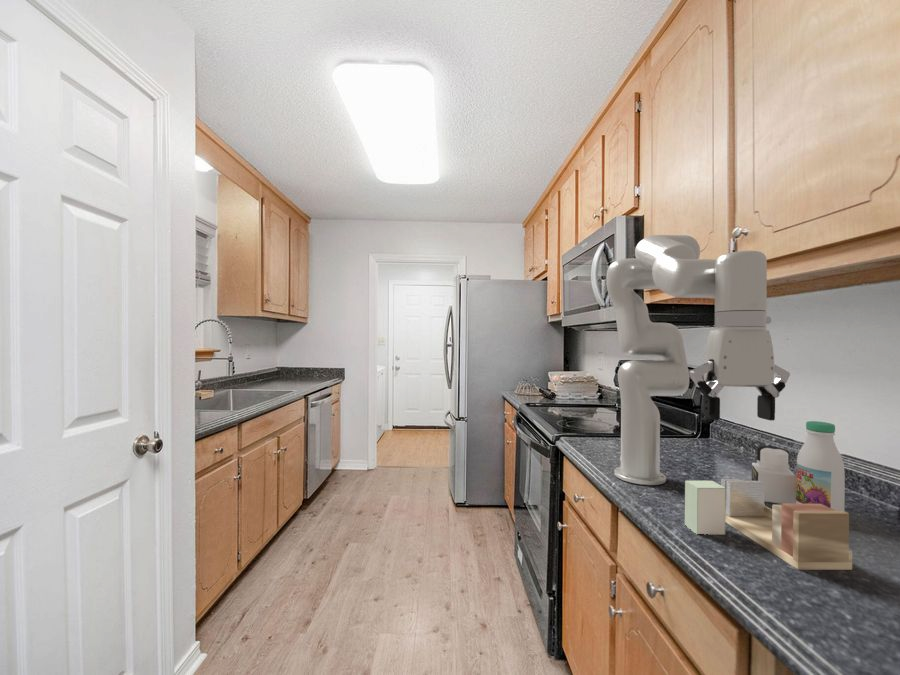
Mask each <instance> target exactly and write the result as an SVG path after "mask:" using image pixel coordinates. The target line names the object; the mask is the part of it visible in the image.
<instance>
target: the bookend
mask: <svg viewBox="0 0 900 675" xmlns="http://www.w3.org/2000/svg"><path fill="white" fill-rule="evenodd" d="M720 482H721V483H720V485H721V486H723V487H725V488H726V509H725V512H726V515H728V516H735V517H764V505H765V482H763V481H752V480H742V479H740V478H721V479H720ZM765 506H766V505H765Z"/></svg>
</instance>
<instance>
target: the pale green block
mask: <svg viewBox="0 0 900 675" xmlns="http://www.w3.org/2000/svg"><path fill="white" fill-rule="evenodd" d="M725 509H726V488H725V487H723V486H721V484H719V483H717V482H716V481H714V480H684V526H685V525H686V526H687V527H686V526H685V527H686V528H687V529H689V530H690V529H691V530H690V531H692V533H694V534H695V533H696V534H695V535H697V534H704V535H703V536H705V535H706V534H708V535H709V536H712V535H716V536H718V535H720V536H721V535H722V536H724V535H726V522H725ZM708 535H706V536H708Z"/></svg>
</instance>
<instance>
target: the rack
mask: <svg viewBox="0 0 900 675" xmlns="http://www.w3.org/2000/svg"><path fill="white" fill-rule="evenodd" d="M771 506H772V507H768V506H767V505H764V517H735V516H728V515H726V512H725V524H728V525H729V526H731V527H732V528H733V529H735V530H737V531H738V532H740V533H741V534H742V535H744V536H746V537H747V538H748V539H751V541H754V542H755V543H757V544H758V545H760V546H761V547H763V548H764V549H765V550H767V551H769V552H771V553H772V554H773V555H775V556H777V557H778V558H780V560H781V559H782V561H784V562H785V563H787V564H788V565H790V566H791V567H793V568H795V569H797V570H798V571H799V570H800V571H803V570H807V571H808V570H810V571H811V570H813V571H820V570H821V571H823V570H825V571H826V570H827V571H828V570H832V571H834V570H835V571H840V570H841V571H844V570H846V571H847V570H848V571H849V570H850V571H851V570H853V551H852V550H851V549H850V513H849V512H847V511H845V510H844V511H836V510H834V509H831V508H829V507H827V506H825V505H822V504H796V503H795V504H772V505H771Z"/></svg>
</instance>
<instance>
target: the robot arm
mask: <svg viewBox="0 0 900 675" xmlns="http://www.w3.org/2000/svg"><path fill="white" fill-rule="evenodd" d="M700 247H701V246H700V244H699V242H698V240H697V239H695V238H694V237H692V236H690V235H688V234H687V235H686V234H653V235H649V236H645V237H644V238H643V239H641V240H640V241H638V243H637V244H636V246H635V248H634V256H635V257H633V258H631V257H630V258H621V259H617V260H615V261H614V262H612V263H610V265H609V266H608V268H607V271H606V277H605V278H606V280H605V282H606V283H605V284H606V290H607V293H608V294H607V295H608V296H609V299H610V302H611V303H612V306H613V309H614V312H615V320H616V328H617V337H618V343H619V348H620V350H621V352H622V353H623V354H624V355H626V356H629V357H642V358H644V357H645V358H646V357H647V358H648V357H649V358H651V357H652V358H655V357H656V358H658V360H654V359H634V360H633V359H632V360H628V361H625V362H624V363H622V364H621V365H620V366H619V368H618V370H617V382H618V389H619V395H620V456H619V459H620V466H618V467H615V469H614V476H615V477H616V478H618V479H620V480H622V481H624V482H627V483H632V484H635V485H642V486H643V485H645V486H658V485H659V486H660V485H662V484H665V483H666V481H667V476H666V475H665V474H664V473H663V472H661V471H660V465H661V464H660V461H661V460H660V455H661V454H660V451H661V450H660V447H661V442H660V441H661V414H660V411H659V408H658V406H657V405H656V404H655V402H654V401H653V399H652V397H656V396H657V397H675V396H676V397H677V396H681V395H683V394H685V393H686V392H687V391H688V389H689V387H690V378H691V380H692V382H693V385H694V387H695V388H696V389H697V390H698V391H699V393H700V395H702V396H703V413H704V417H705V418H706V419H709V420H714V421H719V420H720V419H721V399H720V397H719V396H717V395H718V394H719V393H720V392H721V391H722V389H723V388H724V387H732V388H733V387H736V388H738V387H741V388H745V387H746V388H747V387H748V388H749V387H750V388H755V389H756V390H757V391H758V392H759V393H760V394H759V395H757V397H756V398H757V404H756V405H757V408H756V411H757V413H756V414H757V417H758V418H759V419H763V420H767V421H775V419H776V417H775V416H776V399H777V398H778V397H780V393H781V392H782V391H783V390H784V389H785V388H786V384H787V382H788V380H789V378H790V376H791V373H790V371H788V370H786V369H784V368H782V367H780V366H779V365H777V364H775V354H774V348H773V347H774V345H773V342H772V337H771V336H772V335H771V332H770V330H768V329H767V325H768V324H771V322H772V318H771V316H768V315H767V299H768V298H767V290H768V289H767V285H768V283H767V280H768V279H767V278H768V277H767V276H768V274H767V273H768V268H767V267H768V266H767V265H768V261H767V256H766V255H765V253H763V252H762V251H758V250H738V251H733V252H727V253H724V254H721V255H719V256H718V257H717V258H716V259H713V258H711V259H710V258H709V259H708V258H707V259H706V258H705V259H704V258H701V259H700V255H701V254H700V253H701V248H700ZM634 290H660V291H662V292H663V293H664V294H667V295H668V296H671V297H675V298H679V299H714V329H713V330H712V329H710V330H709V333H708V337H707V340H706V345H705V351H704V361H703V364H701V365H699V366H697V367H695V368H692V369H691V370H689V367H688V361H687V356H686V349H685V344H684V339H683V335H682V333H681V331H680V329H679V328H678V327H677V326H676V325H674V324H672V323H668V322H653V321H651V319H650V314H649V309H648V306H647V304H646V302H645V301H644V300H643V298H642V297H641V296H640V295H639V294H637V293H636V292H635V291H634Z"/></svg>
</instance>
